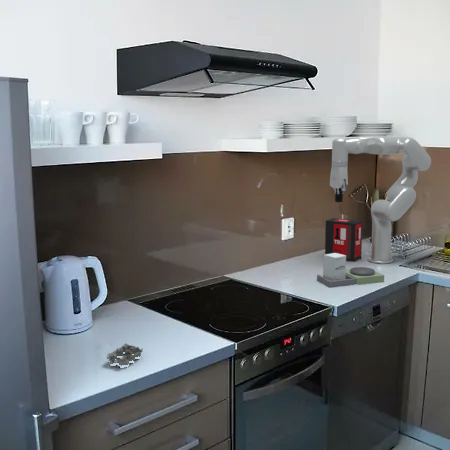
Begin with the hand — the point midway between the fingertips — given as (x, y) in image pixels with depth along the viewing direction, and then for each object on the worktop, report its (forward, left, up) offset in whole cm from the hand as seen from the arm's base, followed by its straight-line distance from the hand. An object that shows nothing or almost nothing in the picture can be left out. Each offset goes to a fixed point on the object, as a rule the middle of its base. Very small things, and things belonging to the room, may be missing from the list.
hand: (338, 201), depth 273 cm
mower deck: (+8, +26, -32) cm, 42 cm away
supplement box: (+16, +26, -32) cm, 44 cm away
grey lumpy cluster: (+116, +79, -33) cm, 145 cm away
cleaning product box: (-10, -12, -32) cm, 36 cm away
